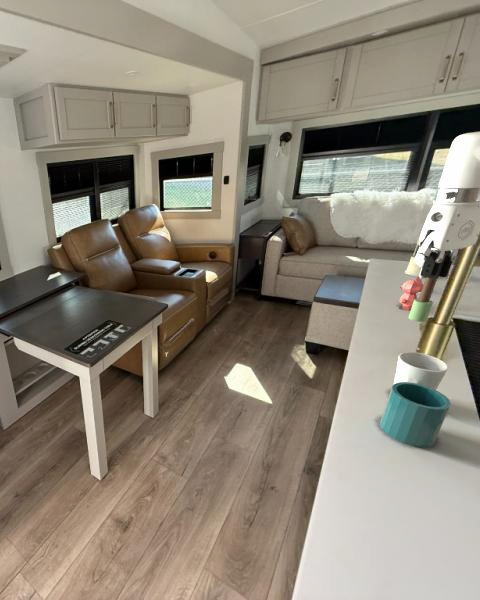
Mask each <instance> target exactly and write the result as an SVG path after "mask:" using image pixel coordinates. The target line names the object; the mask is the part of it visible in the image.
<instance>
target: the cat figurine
mask: <svg viewBox="0 0 480 600" xmlns="http://www.w3.org/2000/svg"><path fill="white" fill-rule="evenodd" d="M423 285H424V282H423V280H422V281H421V279H420V277H419V276H418V277H416V279H409V280H407V281H405V282H404V283H403V284H402V285H401V286H400V289H401V290H402V291H403V292H404V293H403V294H402V295H401V296H400V297H399V303H400V304H401V306H400V307H398V309H399V310H402V311H411V308H412V305H413V302H414V299H418V295H417V294H420V293H419V292H421V291H422V288H423Z"/></svg>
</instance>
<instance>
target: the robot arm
mask: <svg viewBox="0 0 480 600" xmlns="http://www.w3.org/2000/svg"><path fill="white" fill-rule="evenodd" d="M437 186H438V187H437V190H436V192H435V196H434V199H433V202H432V203H433V204H432V206H431V208H430V211H429V212H428V213H429V215H427V216H428V217H427V216H426V218H427V219H425V222H424V224H423V226H422V228H423V229H422V228H421V231H422V232H421V231H420V233H421V235H420V234H419V236H420V239H419V238H418V239H419V244H418V247H421V248H420V250H419V249H418V250H419V251H418V250H417V252H418V253H419V254H421V255H423V256H424V260H425V261H424V264H423V267H422V270H421V273H420V275H421V276H423V278H426V277H427V278H431V279H437V280H438V279H439V278H447V277H448V276H449V273H450V270H451V267H452V264H453V262H454V260H456V258H457V255H458V253H460V251H461V250H463V249H465V248H469V247H472V246H474V245H475V244H476V243H477V241H478V239H479V235H480V131H474V132H466V133H463V134H460V135H458V136H456V137H455V138H454V139H453V141H452V142H451V145H450V148H449V151H448V155H447V158H446V160H445V164H444V167H443V171H442V174H441V177H440V179H439V182H438V185H437ZM478 206H479V207H478ZM433 246H435V247H433ZM433 251H436V252H438V253H436V252H433ZM444 253H445V254H446V256H445V258H444V261H443V263H442V262H441V261H442V259H443V256H444Z"/></svg>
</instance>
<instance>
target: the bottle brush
mask: <svg viewBox="0 0 480 600" xmlns="http://www.w3.org/2000/svg"><path fill="white" fill-rule="evenodd" d="M445 256H446V254H445V253H444V256H443V259H442V261H441V262H442V263H443V261H444V258H445ZM437 281H438V279H431V278H427V277H425V280H424V282H423V288H422V291H421V293H419V294H420V295H419V297H417V299H414V302H413V305H412V308H411V310H409V314H408V317H407V318H408V319H409V320H410V321H413V322H419V323H426V322H427V321H428V318H429V315H430V313H431V310H432V307H433V304H434V302H433V301H432V300H431V297H432V294H433V291H434V289H435V286H436V283H437Z"/></svg>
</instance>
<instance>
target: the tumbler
mask: <svg viewBox="0 0 480 600" xmlns="http://www.w3.org/2000/svg"><path fill="white" fill-rule="evenodd" d="M393 384H394V383H393ZM451 406H452V402H451V400H450V399H449V398H448V396H446V395H445V394H443V393H442V392H441V391H439V390H437V389H436V390H434V389H432V388H430V387H427V386H424V385H421V384H416V383H410V382H399V383H396V384H394V385H392V386H391V388H390V391H389V394H388V397H387V400H386V403H385V405H384V409H383V412H382V415H381V417H380V421H379V427H380V428H381V429H382V431H383V432H384V433H386V435H388V436H389V437H391V438H392V439H394V440H395V441H398V442H400V443H402V444H404V445H407V446H412V447H416V448H430V447H432V446H433V445H435V442H436V439H437V437H438V435H439V433H440V431H441V428H442V426H443V423H444V421H445V419H446V417H447V415H448V412H449V410H450V408H451Z"/></svg>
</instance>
